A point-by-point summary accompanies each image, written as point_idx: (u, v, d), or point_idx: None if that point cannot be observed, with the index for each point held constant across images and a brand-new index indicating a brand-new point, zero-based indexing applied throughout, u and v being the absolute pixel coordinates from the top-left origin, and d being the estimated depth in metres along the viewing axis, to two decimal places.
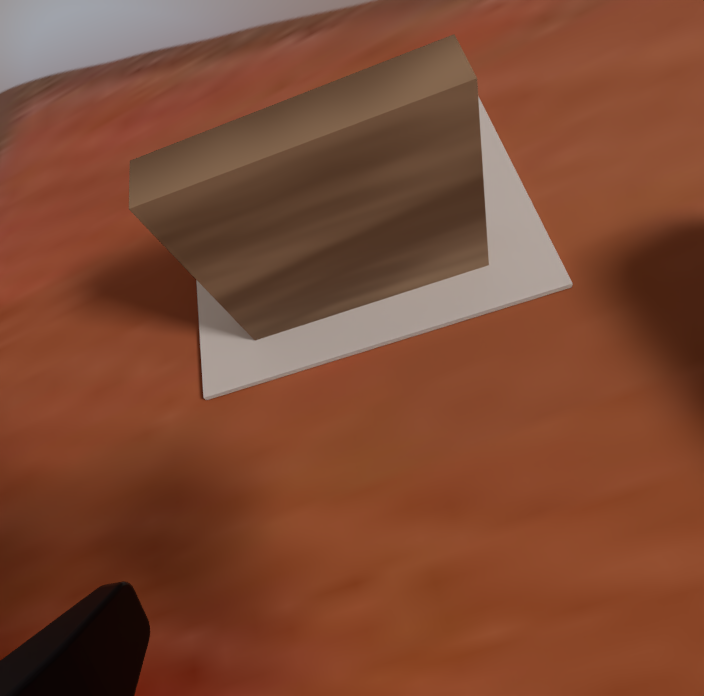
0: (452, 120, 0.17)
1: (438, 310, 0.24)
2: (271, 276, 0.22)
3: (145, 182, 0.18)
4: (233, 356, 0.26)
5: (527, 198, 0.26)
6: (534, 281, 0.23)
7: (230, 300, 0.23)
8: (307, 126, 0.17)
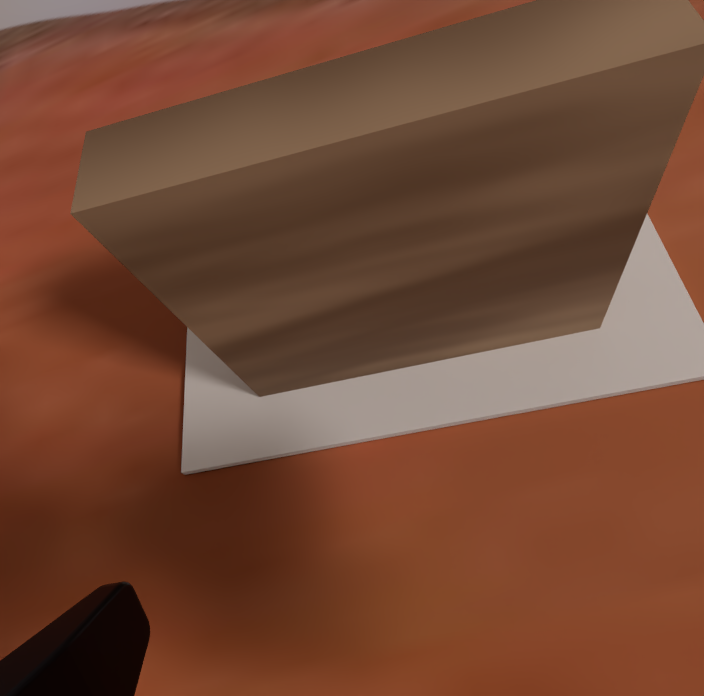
0: (642, 114, 0.10)
1: (524, 387, 0.17)
2: (294, 323, 0.15)
3: (104, 170, 0.11)
4: (228, 416, 0.19)
5: (656, 237, 0.18)
6: (669, 361, 0.16)
7: (230, 350, 0.16)
8: (390, 100, 0.10)
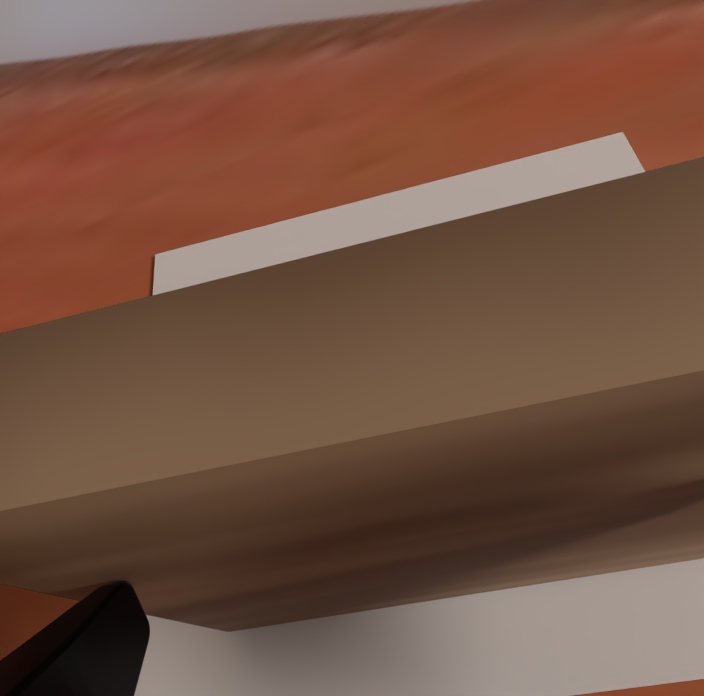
0: None
1: (608, 650, 0.12)
2: (268, 589, 0.10)
3: None
4: (189, 660, 0.14)
5: None
6: None
7: (175, 611, 0.11)
8: (430, 355, 0.05)
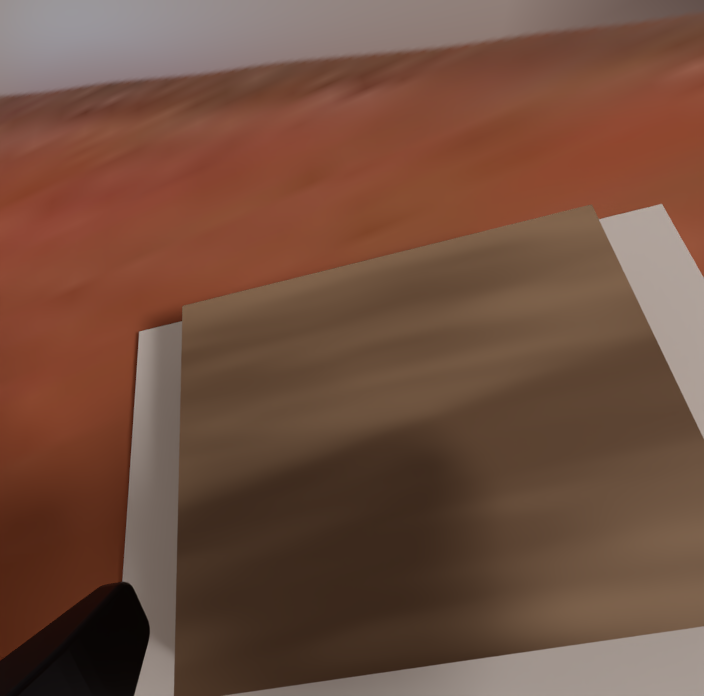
0: (573, 246, 0.14)
1: None
2: (283, 475, 0.13)
3: None
4: None
5: None
6: None
7: (197, 520, 0.13)
8: None
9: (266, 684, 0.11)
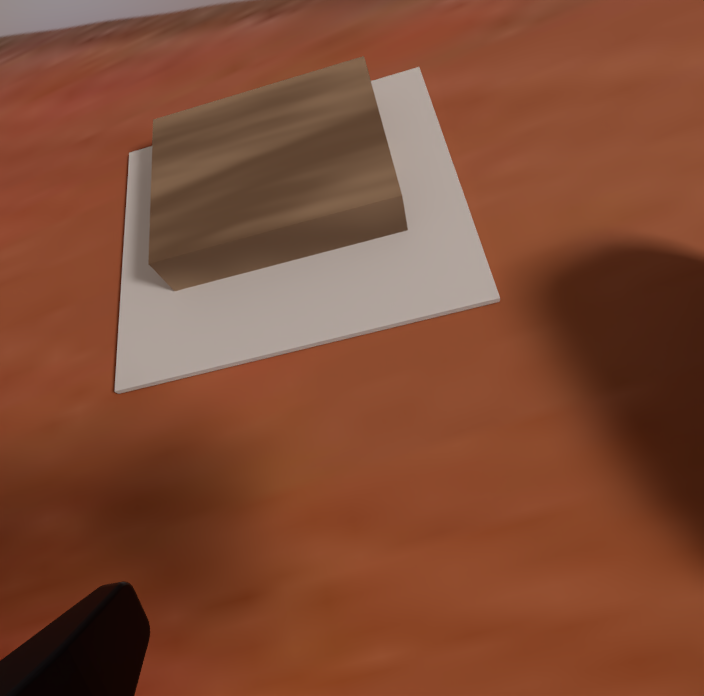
0: (351, 75, 0.27)
1: (363, 316, 0.23)
2: (202, 180, 0.26)
3: None
4: (150, 349, 0.25)
5: (465, 206, 0.25)
6: (462, 293, 0.23)
7: (160, 202, 0.26)
8: None
9: (190, 251, 0.24)
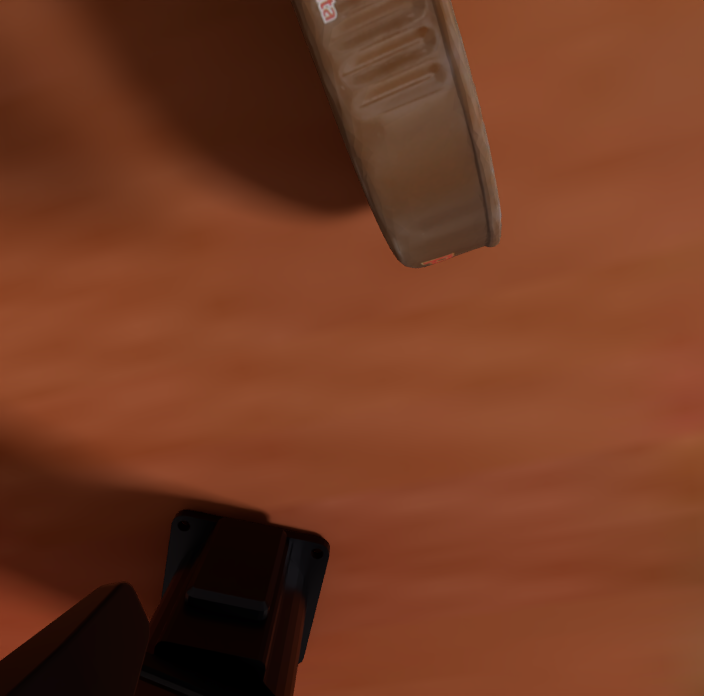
0: None
1: None
2: None
3: None
4: None
5: None
6: None
7: None
8: None
9: None
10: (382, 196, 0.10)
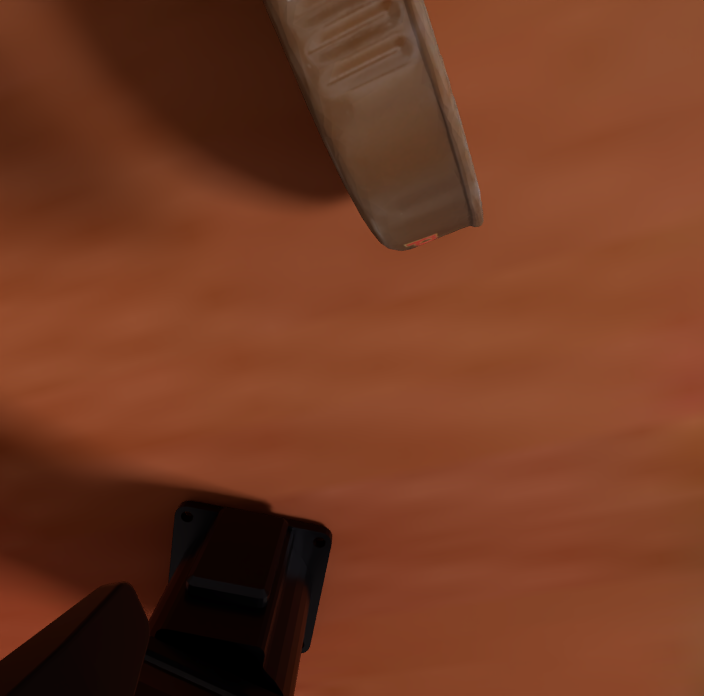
0: None
1: None
2: None
3: None
4: None
5: None
6: None
7: None
8: None
9: None
10: (356, 176, 0.10)
